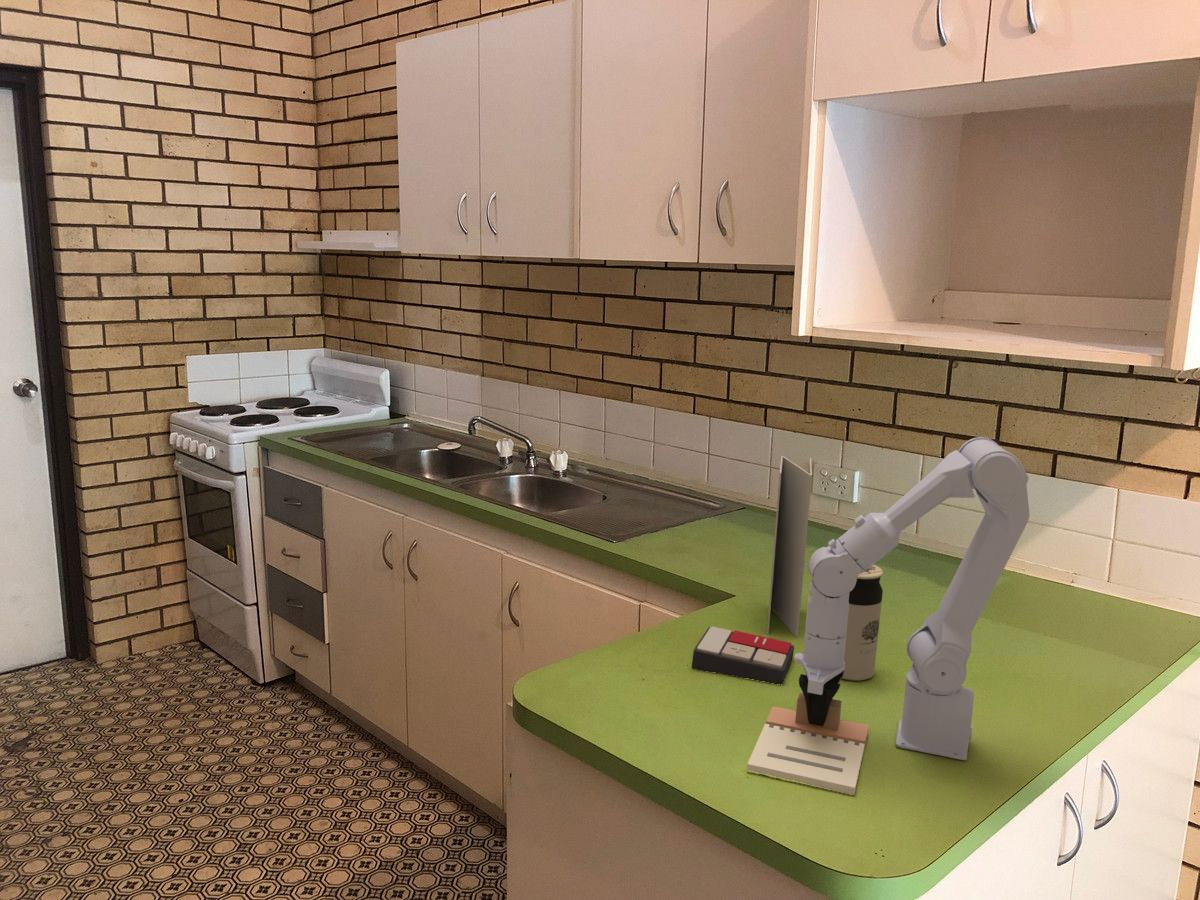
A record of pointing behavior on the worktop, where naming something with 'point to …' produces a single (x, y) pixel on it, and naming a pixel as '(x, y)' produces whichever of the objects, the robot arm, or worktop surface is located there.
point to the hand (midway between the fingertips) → (817, 719)
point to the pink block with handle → (830, 727)
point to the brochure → (790, 543)
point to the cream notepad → (808, 758)
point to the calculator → (743, 655)
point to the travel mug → (863, 625)
